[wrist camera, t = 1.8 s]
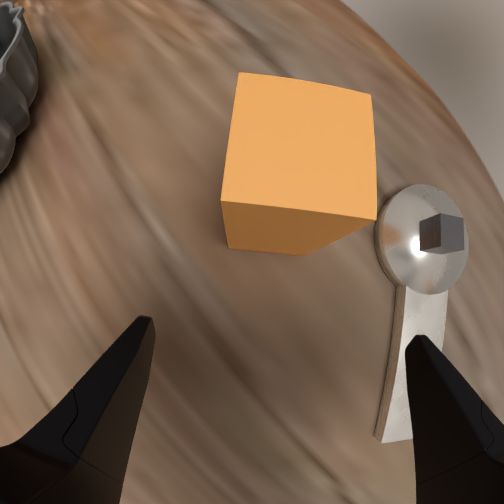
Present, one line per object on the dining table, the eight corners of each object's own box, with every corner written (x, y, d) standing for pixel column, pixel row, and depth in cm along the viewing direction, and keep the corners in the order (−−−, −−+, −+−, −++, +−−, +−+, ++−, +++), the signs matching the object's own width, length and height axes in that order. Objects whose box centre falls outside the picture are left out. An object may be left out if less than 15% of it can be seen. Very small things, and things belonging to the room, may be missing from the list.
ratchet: (433, 426, 22) (462, 444, 17) (349, 438, 22) (371, 464, 17) (454, 200, 24) (486, 185, 20) (374, 182, 24) (401, 160, 19)
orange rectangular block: (304, 255, 23) (376, 220, 11) (228, 248, 23) (220, 200, 10) (308, 184, 24) (370, 94, 11) (236, 175, 24) (239, 72, 11)
